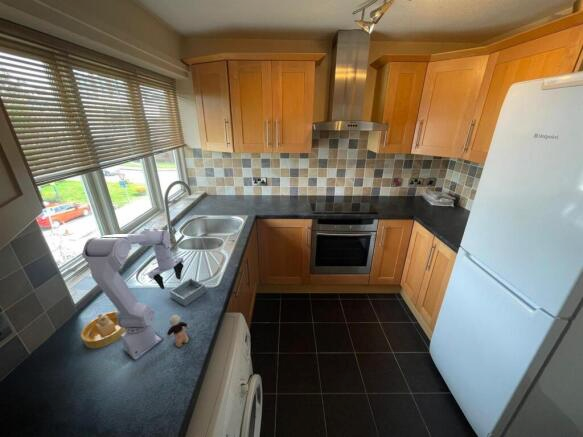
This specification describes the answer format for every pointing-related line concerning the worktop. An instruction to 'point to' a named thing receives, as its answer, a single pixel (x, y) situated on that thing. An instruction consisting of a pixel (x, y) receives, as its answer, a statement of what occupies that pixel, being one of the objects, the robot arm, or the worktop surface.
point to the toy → (105, 326)
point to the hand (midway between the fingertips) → (170, 283)
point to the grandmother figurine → (178, 330)
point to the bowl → (95, 339)
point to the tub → (187, 291)
